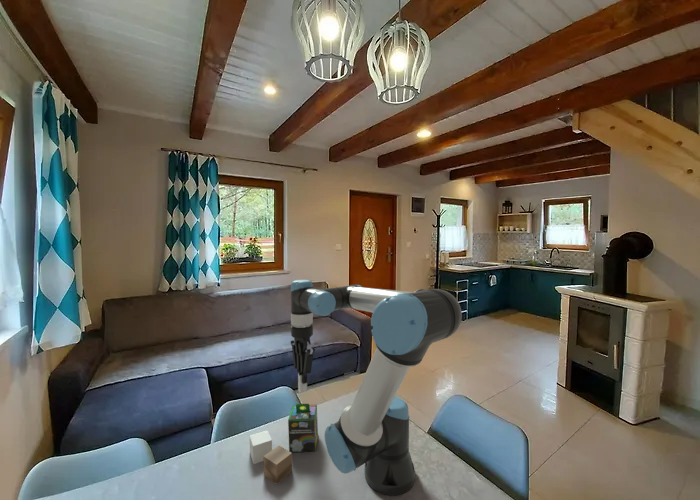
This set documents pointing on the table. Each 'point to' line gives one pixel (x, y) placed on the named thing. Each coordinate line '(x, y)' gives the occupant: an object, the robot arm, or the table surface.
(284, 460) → the walnut block
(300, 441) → the chalk box
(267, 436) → the white cube
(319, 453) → the table surface
